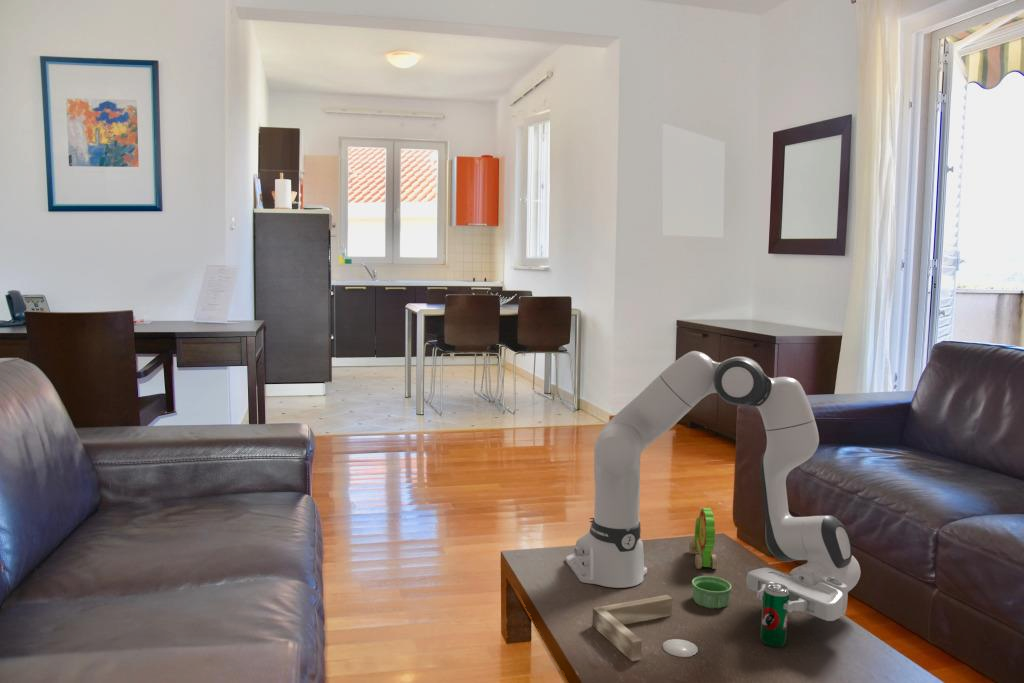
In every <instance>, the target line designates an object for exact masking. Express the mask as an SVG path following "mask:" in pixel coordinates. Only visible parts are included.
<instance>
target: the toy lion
mask: <svg viewBox="0 0 1024 683" xmlns="http://www.w3.org/2000/svg"><path fill="white" fill-rule="evenodd" d="M715 537H716V527H715V517H714V513H713V511H712V508H711V507H702V508H701V509H700V511H699V515H698V516H697V517H696V520H695V526H694V539H689V543H688V549H689V550H688V551H689V554H690V555H695V556H694V557H695V558H694V563H695V568H696V569H699V570H700V569H702V567H703V568H704V567H707V568H710V569H711V568H712V569H711V570H717V568H718V557H717V555H716V554H712V551H713V550H714V545H715V541H716V540H715Z"/></svg>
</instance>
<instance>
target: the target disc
mask: <svg viewBox="0 0 1024 683" xmlns="http://www.w3.org/2000/svg"><path fill="white" fill-rule="evenodd" d="M662 649H663V651H665V652H666V653H667V654H669V655H672V656H674V657H679V658H690V657H694V656H695V655H697V654H698V653H699V652H698V651H699V650H698V646H697V645H696V644H694V643H692V642H691V641H689V640H685V639H680V638H673V639H668V640H665V641H663V643H662ZM696 653H697V654H696ZM693 655H694V656H693Z"/></svg>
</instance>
